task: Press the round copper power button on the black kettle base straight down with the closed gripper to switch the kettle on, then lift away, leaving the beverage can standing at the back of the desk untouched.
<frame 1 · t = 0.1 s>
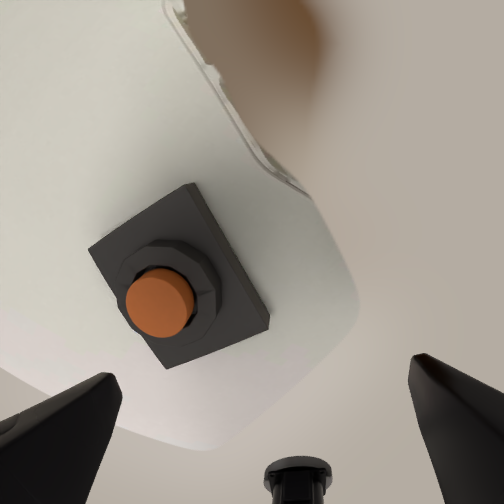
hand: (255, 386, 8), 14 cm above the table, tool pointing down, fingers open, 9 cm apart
kettle base: (181, 278, 23), on the table
power button: (160, 303, 19), point 4 cm above the table, slide at 0.1 cm
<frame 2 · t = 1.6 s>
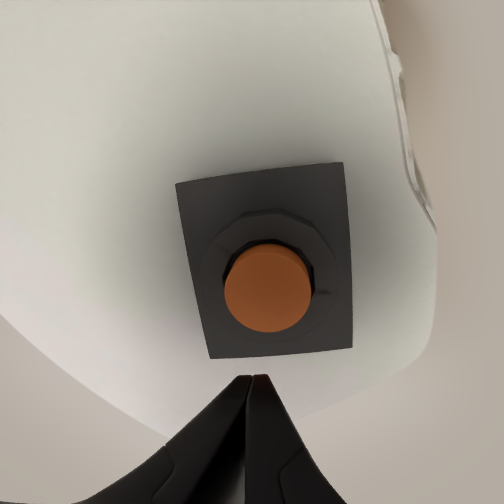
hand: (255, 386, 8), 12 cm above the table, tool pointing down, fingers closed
kettle base: (271, 260, 20), on the table
power button: (268, 287, 15), point 4 cm above the table, slide at 0.1 cm
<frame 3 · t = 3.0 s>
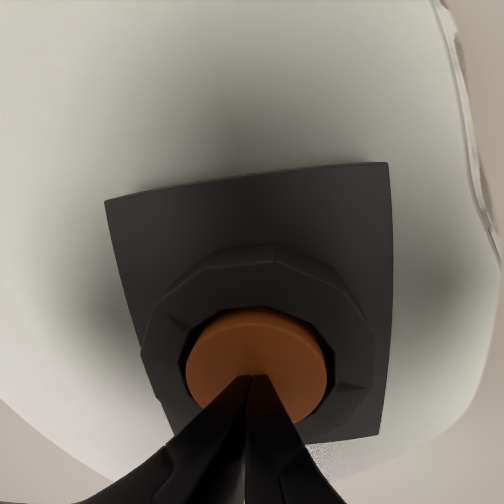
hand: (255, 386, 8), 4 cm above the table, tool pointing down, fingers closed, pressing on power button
kettle base: (264, 315, 13), on the table
power button: (257, 367, 9), point 3 cm above the table, slide at -0.9 cm, touching gripper
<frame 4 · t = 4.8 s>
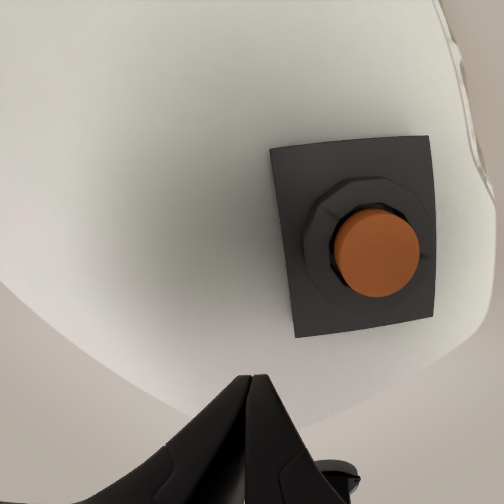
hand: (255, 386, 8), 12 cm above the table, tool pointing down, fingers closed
kettle base: (356, 232, 19), on the table
power button: (376, 252, 15), point 4 cm above the table, slide at 0.1 cm
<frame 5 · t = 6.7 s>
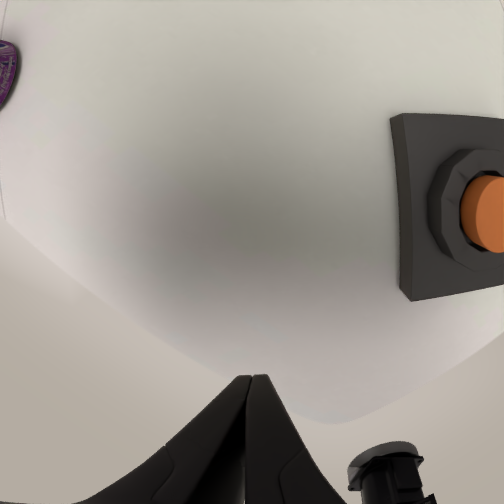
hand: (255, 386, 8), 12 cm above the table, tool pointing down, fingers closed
kettle base: (457, 201, 18), on the table
power button: (494, 213, 13), point 4 cm above the table, slide at 0.1 cm
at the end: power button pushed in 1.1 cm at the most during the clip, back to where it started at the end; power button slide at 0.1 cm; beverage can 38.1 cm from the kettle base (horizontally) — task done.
